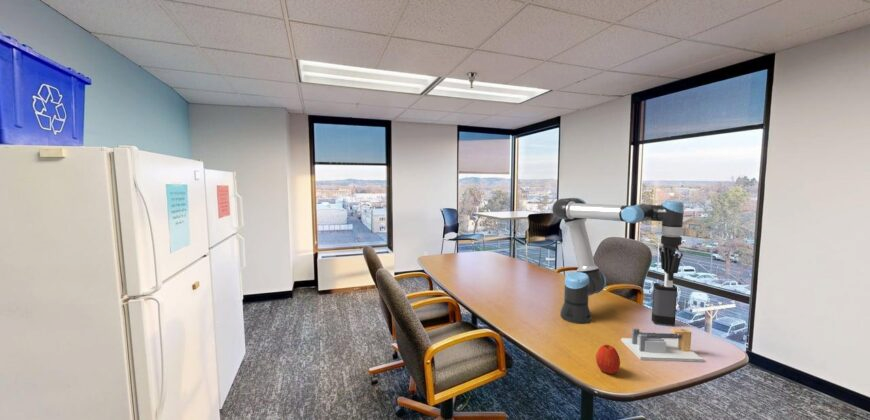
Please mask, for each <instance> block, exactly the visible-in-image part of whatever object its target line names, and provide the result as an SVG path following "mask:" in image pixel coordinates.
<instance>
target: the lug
mask: <svg viewBox="0 0 870 420" xmlns="http://www.w3.org/2000/svg"><path fill="white" fill-rule="evenodd" d="M670 332H671V333H672V334H678V335H679V336H681V339H677V340H678V348H679V349H681V350H682V351H690V350H691V345H692V341H691V340H692V331H691V330H689V329H687V328H671V327H670Z"/></svg>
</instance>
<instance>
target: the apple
mask: <svg viewBox="0 0 870 420" xmlns="http://www.w3.org/2000/svg"><path fill="white" fill-rule="evenodd" d="M595 362H596V364H597V367H598V369H599V370H600V371H602V372H604V373H606V374H610V375H613V374H615V373H617V372H618V371H619V369H620V367H621V366H620V365H621V359H620V355H619V353H618V351H617V349H616V348H615V347H614V346H613V345H610V344H603V345H601V346H600V347H599V348H598V350H597V352H596V353H595Z"/></svg>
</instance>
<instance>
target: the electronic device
mask: <svg viewBox="0 0 870 420" xmlns="http://www.w3.org/2000/svg"><path fill="white" fill-rule="evenodd" d="M652 287H653V289H652V290H653V291H652V303H651V306H652V308H651V321H652V323H653V324H655V325H658V326H668V327H675V326H676V314H677V313H676V312H677V301H678V299H677V298H678V297H677V295H678V287H677V286H676V285H675V284H673V287H665V286H664V284H660V283H659V282H654V283H653V286H652Z"/></svg>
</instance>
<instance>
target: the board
mask: <svg viewBox="0 0 870 420" xmlns="http://www.w3.org/2000/svg"><path fill="white" fill-rule="evenodd" d="M631 330H632V335H631V337H630V338H629V337H627V338H626V337H622V338H621V339H620V341H621V342H622V343H623V344H624V345H625V346H626V348H628V349H629V350H630V351H631V352H632V353H633V354H634V355H635V356H636V357H637V358H638V359H639V360H640V361H641V360H642V361H663V362H665V361H666V362H689V363H690V362H691V363H693V362H694V363H703V362H704V358H702V357H701V356H700V355H698V353H696V352H694V351H693V350H691V349H690V351H682V350H681V349H679V348H678V339H670V338H647V335H640V337H639V336H638V335H637V334H636V333H635V332H638V333H656V332H654V331H653V332H652V331H640V328H637V327H636V328H632V329H631Z"/></svg>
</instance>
